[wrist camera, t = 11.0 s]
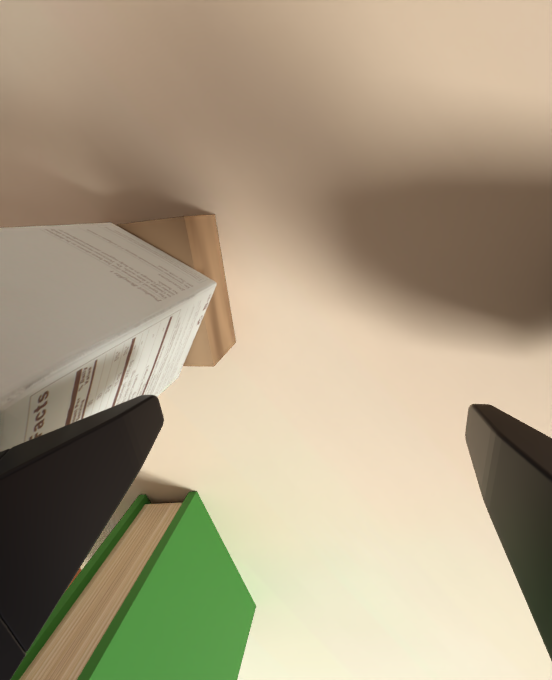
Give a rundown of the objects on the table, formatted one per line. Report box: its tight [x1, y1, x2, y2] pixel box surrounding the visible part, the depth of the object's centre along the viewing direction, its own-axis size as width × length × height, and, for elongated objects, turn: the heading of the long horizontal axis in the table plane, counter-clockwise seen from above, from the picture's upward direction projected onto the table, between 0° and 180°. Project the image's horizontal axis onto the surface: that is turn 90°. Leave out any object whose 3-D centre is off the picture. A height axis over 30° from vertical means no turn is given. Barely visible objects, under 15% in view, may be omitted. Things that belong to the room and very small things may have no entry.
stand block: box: [116, 214, 236, 367], centre depth 21 cm, size 9×9×4 cm
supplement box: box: [0, 222, 217, 452], centre depth 14 cm, size 7×7×13 cm
